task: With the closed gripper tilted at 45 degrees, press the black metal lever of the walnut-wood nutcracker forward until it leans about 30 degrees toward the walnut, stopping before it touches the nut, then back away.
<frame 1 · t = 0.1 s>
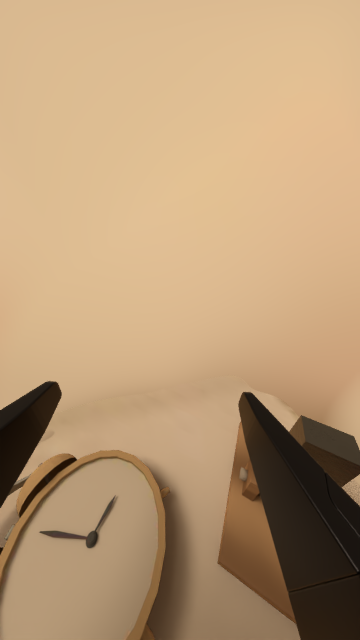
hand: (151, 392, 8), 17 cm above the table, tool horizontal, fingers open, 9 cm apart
alarm clock: (75, 546, 14), on the table
lever: (297, 472, 14), point 7 cm above the table, hinge at 0.0°
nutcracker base: (270, 500, 17), on the table
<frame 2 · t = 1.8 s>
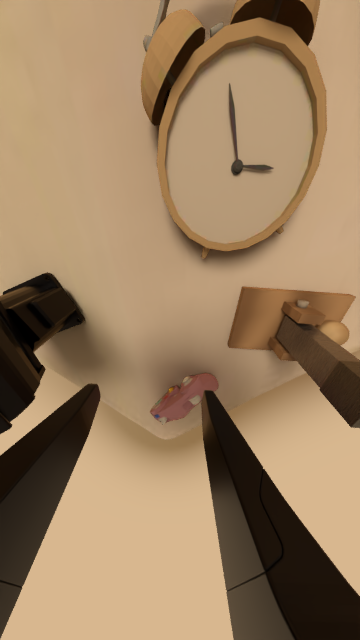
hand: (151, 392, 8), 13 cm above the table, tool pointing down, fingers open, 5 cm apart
alarm clock: (221, 150, 14), on the table
lever: (320, 357, 15), point 7 cm above the table, hinge at 0.0°
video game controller: (183, 382, 27), on the table
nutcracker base: (281, 320, 21), on the table
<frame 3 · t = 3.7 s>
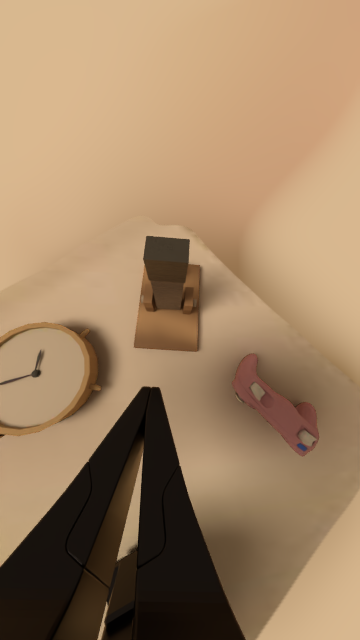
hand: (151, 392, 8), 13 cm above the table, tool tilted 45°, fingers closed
alarm clock: (40, 377, 21), on the table
lever: (168, 283, 17), point 7 cm above the table, hinge at 0.0°
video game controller: (262, 395, 22), on the table
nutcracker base: (169, 306, 24), on the table
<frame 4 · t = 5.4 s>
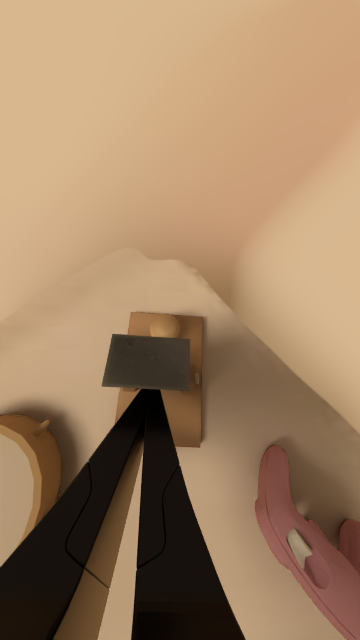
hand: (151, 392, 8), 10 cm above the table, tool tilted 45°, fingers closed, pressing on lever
lever: (157, 372, 11), point 7 cm above the table, hinge at 5.7°, touching gripper
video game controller: (292, 505, 16), on the table
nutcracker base: (162, 375, 18), on the table
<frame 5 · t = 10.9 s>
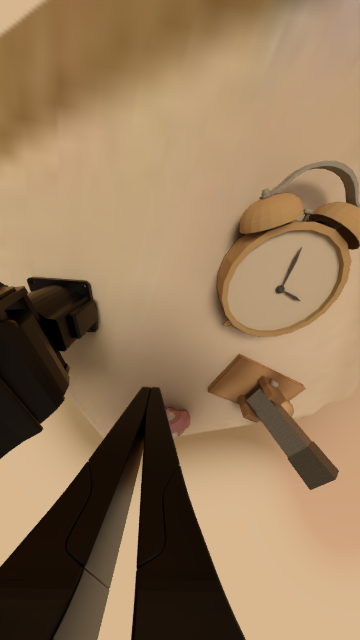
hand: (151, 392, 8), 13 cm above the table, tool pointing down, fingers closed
alarm clock: (271, 262, 18), on the table
lever: (284, 430, 22), point 6 cm above the table, hinge at 29.8°
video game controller: (161, 410, 31), on the table
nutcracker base: (253, 385, 27), on the table
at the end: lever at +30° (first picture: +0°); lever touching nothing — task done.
